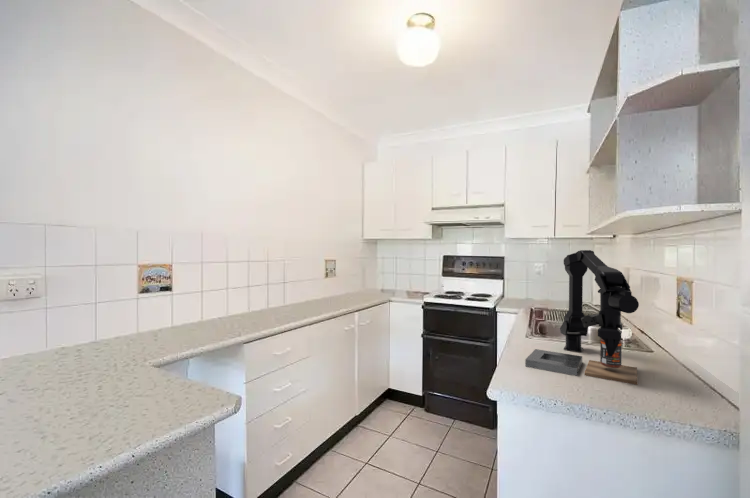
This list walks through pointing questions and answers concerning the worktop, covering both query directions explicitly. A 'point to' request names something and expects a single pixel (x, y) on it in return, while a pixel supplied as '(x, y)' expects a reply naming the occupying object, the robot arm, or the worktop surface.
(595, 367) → the walnut pad
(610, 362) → the supplement bottle
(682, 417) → the worktop surface
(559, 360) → the socket block
